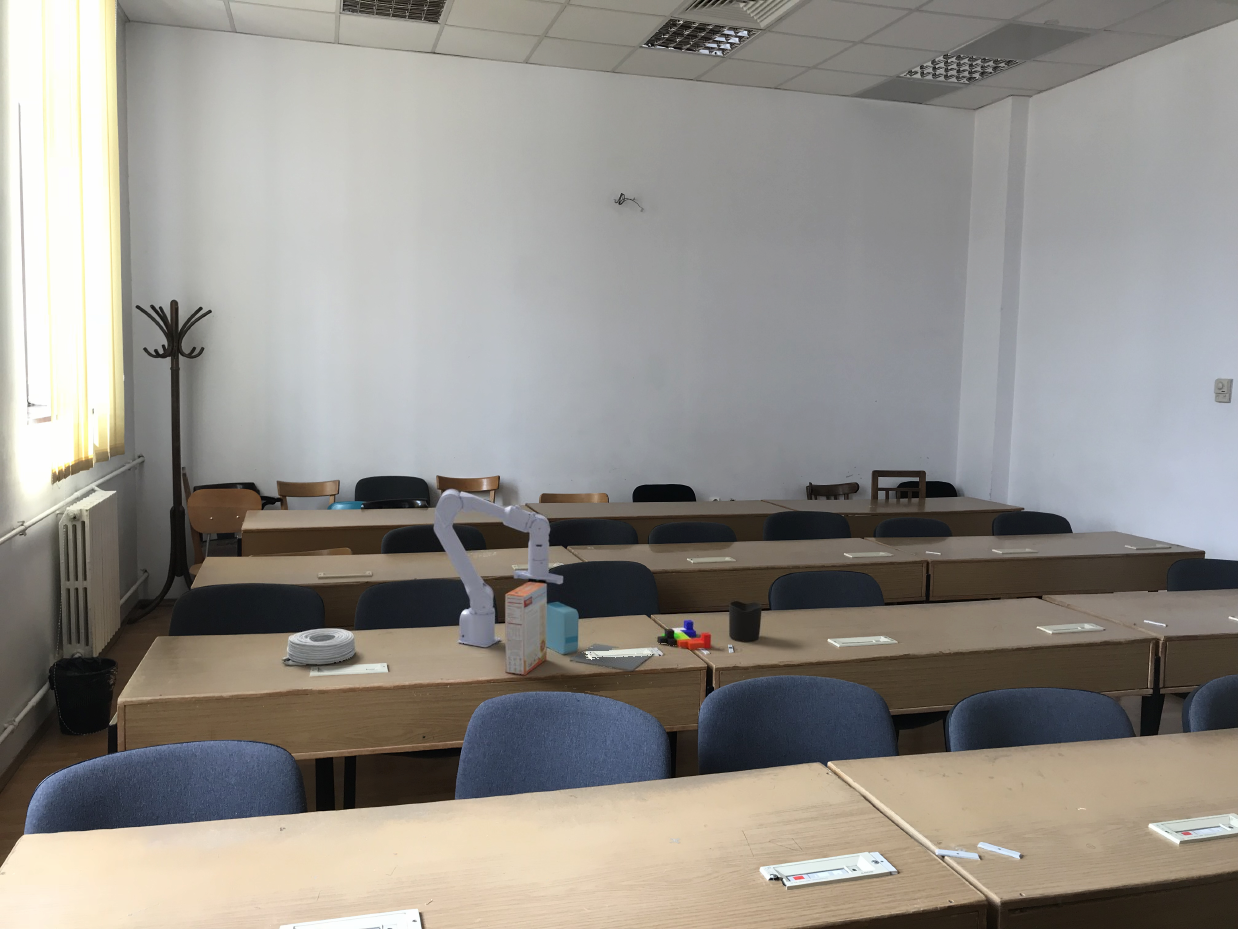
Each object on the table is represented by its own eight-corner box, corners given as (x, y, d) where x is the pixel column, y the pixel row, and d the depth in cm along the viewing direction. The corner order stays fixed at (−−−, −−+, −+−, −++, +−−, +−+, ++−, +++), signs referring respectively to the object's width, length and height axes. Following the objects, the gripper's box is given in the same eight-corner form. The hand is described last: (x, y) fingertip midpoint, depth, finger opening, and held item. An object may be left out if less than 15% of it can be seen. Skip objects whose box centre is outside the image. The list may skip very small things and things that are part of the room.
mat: (569, 660, 252) (569, 659, 252) (594, 644, 266) (594, 643, 266) (631, 671, 245) (631, 670, 245) (654, 653, 259) (654, 652, 259)
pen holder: (744, 644, 269) (746, 610, 268) (721, 636, 277) (722, 603, 276) (767, 639, 275) (768, 605, 274) (743, 631, 283) (745, 598, 281)
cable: (277, 667, 242) (276, 644, 242) (298, 646, 260) (298, 624, 259) (346, 668, 243) (345, 645, 242) (362, 647, 260) (362, 625, 259)
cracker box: (526, 656, 254) (527, 580, 252) (547, 659, 252) (548, 583, 250) (503, 673, 241) (504, 593, 239) (524, 676, 239) (525, 595, 237)
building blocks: (649, 637, 276) (649, 622, 275) (690, 634, 280) (690, 619, 279) (668, 653, 262) (668, 637, 261) (710, 649, 266) (711, 634, 265)
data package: (578, 653, 258) (579, 610, 257) (564, 656, 256) (565, 613, 254) (555, 641, 268) (555, 600, 267) (541, 644, 265) (541, 602, 264)
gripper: (568, 558, 266) (567, 605, 268) (522, 553, 271) (521, 599, 273) (556, 563, 259) (556, 611, 261) (510, 557, 265) (509, 605, 267)
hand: (537, 605), depth 267 cm, fingers closed
